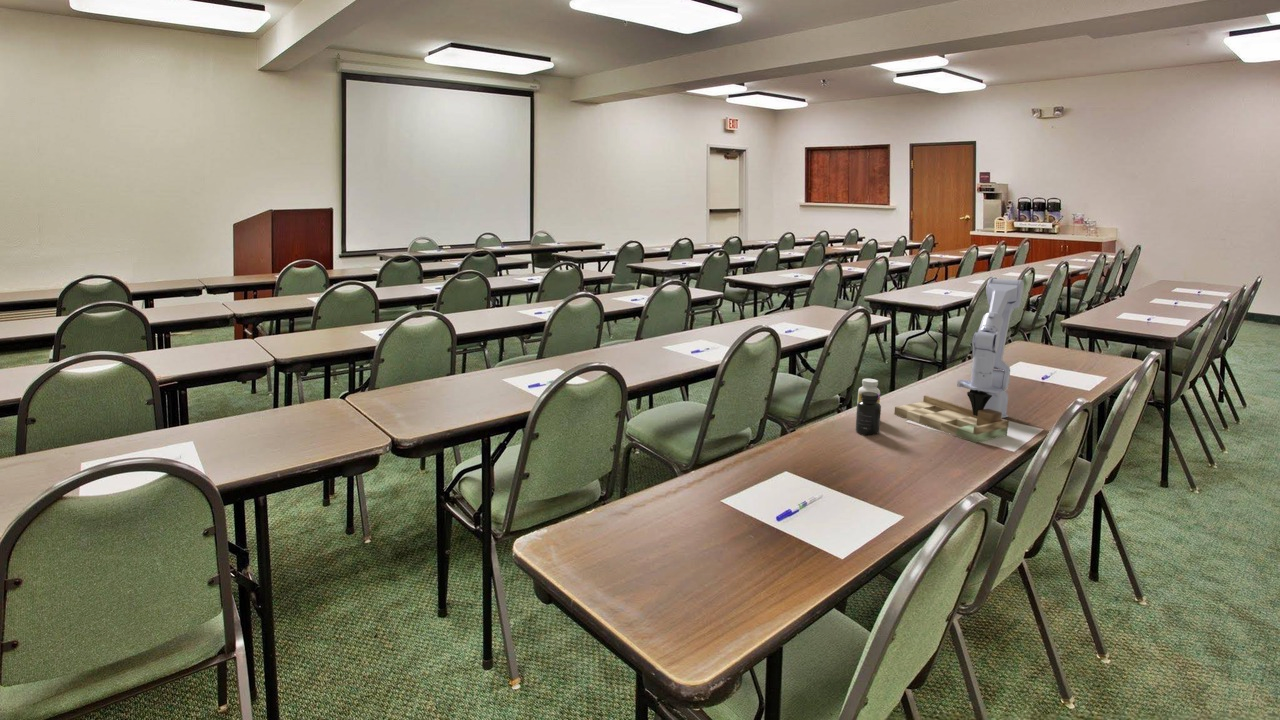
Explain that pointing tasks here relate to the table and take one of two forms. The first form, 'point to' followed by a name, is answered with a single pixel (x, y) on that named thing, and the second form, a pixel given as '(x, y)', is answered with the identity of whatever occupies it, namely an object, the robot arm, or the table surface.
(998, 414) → the walnut block
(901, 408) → the trap board
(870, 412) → the supplement bottle
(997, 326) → the robot arm
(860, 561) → the table surface
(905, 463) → the table surface
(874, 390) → the supplement bottle
